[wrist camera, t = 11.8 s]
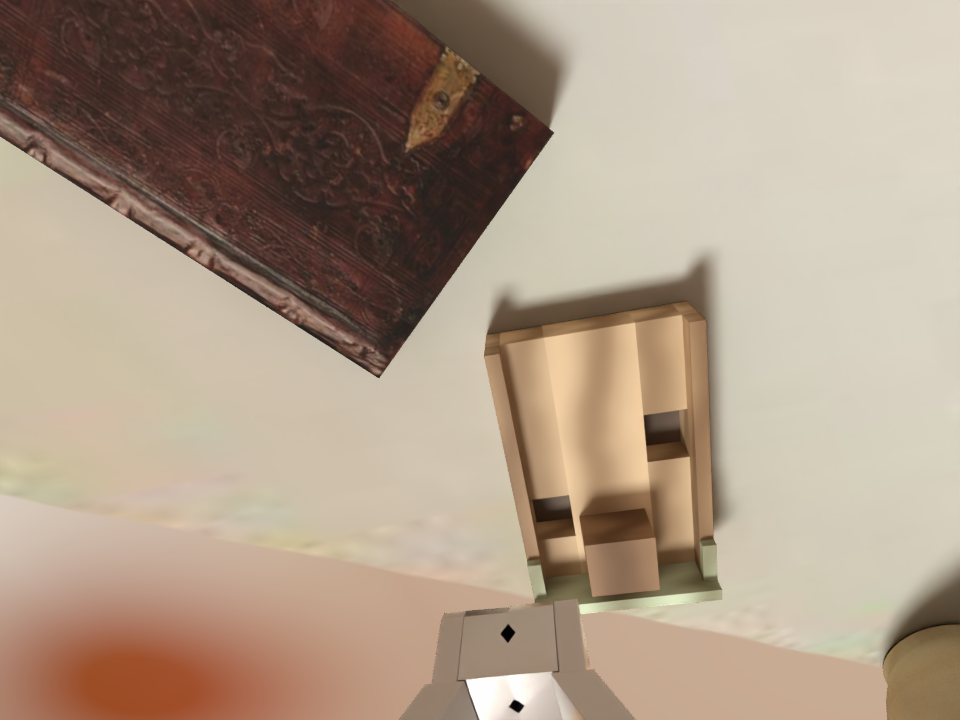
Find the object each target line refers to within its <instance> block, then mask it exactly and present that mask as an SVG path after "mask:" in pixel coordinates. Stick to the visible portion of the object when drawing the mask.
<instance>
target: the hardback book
mask: <svg viewBox="0 0 960 720" xmlns="http://www.w3.org/2000/svg"><path fill="white" fill-rule="evenodd" d="M553 134H554V132H553V131H551V130H550V129H549V128H548V127H547V126H545V125H544V124H543V123H542V122H540V121H539V120H538V119H537V118H535V117H534V116H533V115H532V114H530V113H529V112H528V111H527V110H525V109H524V108H523V107H522V106H520V105H519V104H518V103H517V102H516V101H514V100H513V99H512V98H511V97H509V96H508V95H507V94H506V93H504V92H503V91H502V90H501V89H499V88H498V87H497V86H496V85H494V84H493V83H492V82H491V81H489V80H488V79H487V78H486V77H485V76H483V75H482V74H481V73H480V72H478V71H477V70H476V69H475V68H473V67H472V66H471V65H470V64H468V63H467V62H466V61H465V60H463V59H462V58H461V57H460V56H458V55H457V54H456V53H455V52H454V51H452V50H451V49H450V48H449V47H447V46H446V45H445V44H444V43H442V42H441V41H440V40H439V39H437V38H436V37H435V36H434V35H432V34H431V33H430V32H429V31H428V30H426V29H425V28H424V27H423V26H421V25H420V24H419V23H418V22H416V21H415V20H414V19H413V18H411V17H410V16H409V15H408V14H406V13H405V12H404V11H403V10H401V9H400V8H399V7H398V6H397V5H395V4H394V3H393V2H392V1H390V0H0V137H2V138H3V139H5V140H6V141H8V142H10V143H11V144H13V145H14V146H16V147H17V148H19V149H21V150H22V151H24V152H25V153H27V154H28V155H30V156H32V157H33V158H35V159H36V160H38V161H39V162H41V163H43V164H44V165H46V166H47V167H49V168H50V169H52V170H53V171H55V172H57V173H58V174H60V175H61V176H63V177H64V178H66V179H68V180H69V181H71V182H72V183H74V184H75V185H77V186H79V187H80V188H82V189H83V190H85V191H86V192H88V193H90V194H91V195H93V196H94V197H96V198H97V199H99V200H100V201H102V202H104V203H105V204H107V205H108V206H110V207H111V208H113V209H115V210H116V211H118V212H119V213H121V214H122V215H124V216H126V217H127V218H129V219H130V220H132V221H133V222H135V223H136V224H138V225H140V226H141V227H143V228H144V229H146V230H147V231H149V232H151V233H152V234H154V235H155V236H157V237H158V238H160V239H162V240H163V241H165V242H166V243H168V244H169V245H171V246H173V247H174V248H176V249H177V250H179V251H180V252H182V253H183V254H185V255H187V256H188V257H190V258H191V259H193V260H194V261H196V262H198V263H199V264H201V265H202V266H204V267H205V268H207V269H209V270H210V271H212V272H213V273H215V274H216V275H218V276H220V277H221V278H223V279H224V280H226V281H227V282H229V283H230V284H232V285H234V286H235V287H237V288H238V289H240V290H241V291H243V292H245V293H246V294H248V295H249V296H251V297H252V298H254V299H256V300H257V301H259V302H260V303H262V304H263V305H265V306H266V307H268V308H270V309H271V310H273V311H274V312H276V313H277V314H279V315H281V316H282V317H284V318H285V319H287V320H288V321H290V322H292V323H293V324H295V325H296V326H298V327H299V328H301V329H303V330H304V331H306V332H307V333H309V334H310V335H312V336H313V337H315V338H317V339H318V340H320V341H321V342H323V343H324V344H326V345H328V346H329V347H331V348H332V349H334V350H335V351H337V352H339V353H340V354H342V355H343V356H345V357H346V358H348V359H350V360H351V361H353V362H354V363H356V364H357V365H359V366H360V367H362V368H364V369H365V370H367V371H368V372H370V373H371V374H373V375H375V376H376V377H378V378H380V376H381V375H382V373H383V372H384V371H385V369H386V368H387V366H388V365H389V364H390V362H391V361H392V359H393V358H394V357H395V355H396V354H397V352H398V351H399V350H400V348H401V347H402V345H403V344H404V343H405V341H406V340H407V338H408V337H409V336H410V334H411V333H412V331H413V330H414V329H415V327H416V326H417V324H418V323H419V322H420V320H421V319H422V317H423V316H424V315H425V313H426V312H427V310H428V309H429V308H430V306H431V305H432V303H433V302H434V301H435V299H436V298H437V296H438V295H439V294H440V292H441V291H442V289H443V288H444V287H445V285H446V284H447V282H448V281H449V280H450V278H451V277H452V275H453V274H454V273H455V271H456V270H457V268H458V267H459V266H460V264H461V263H462V261H463V260H464V259H465V257H466V256H467V254H468V253H469V252H470V250H471V249H472V247H473V246H474V245H475V243H476V242H477V240H478V239H479V238H480V236H481V235H482V233H483V232H484V230H485V229H486V228H487V226H488V225H489V223H490V222H491V221H492V219H493V218H494V216H495V215H496V214H497V212H498V211H499V209H500V208H501V207H502V205H503V204H504V202H505V201H506V200H507V198H508V197H509V195H510V194H511V193H512V191H513V190H514V188H515V187H516V186H517V184H518V183H519V181H520V180H521V179H522V177H523V176H524V174H525V173H526V172H527V170H528V169H529V167H530V166H531V165H532V163H533V162H534V160H535V159H536V158H537V156H538V155H539V153H540V152H541V151H542V149H543V148H544V146H545V145H546V144H547V142H548V141H549V139H550V138H551V137H552V135H553Z"/></svg>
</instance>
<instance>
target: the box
mask: <svg viewBox="0 0 960 720" xmlns="http://www.w3.org/2000/svg"><path fill="white" fill-rule="evenodd" d="M484 358H485V363H486V368H487V372H488V377H489V382H490V387H491V391H492V396H493V401H494V405H495V410H496V415H497V420H498V424H499V429H500V434H501V439H502V443H503V448H504V453H505V457H506V462H507V467H508V472H509V476H510V481H511V486H512V491H513V495H514V500H515V505H516V510H517V514H518V519H519V524H520V528H521V533H522V538H523V543H524V547H525V552H526V557H527V565H528V571H529V576H530V580H531V585H532V590H533V594H534V599H535V603H542V602H550V601H562V600H571V599H577V600H578V603H579V608H580V613H581V614H585V613H595V612H606V611H615V610H625V609H635V608H645V607H655V606H664V605H674V604H684V603H694V602H703V601H713V600H722V589H721V587H720V585H719V582H718V579H717V548H716V543H715V541H714V539H713V510H712V480H711V451H710V421H709V392H708V362H707V333H706V319H705V318H704V317H703V316H701V315H700V314H699V313H698V312H697V311H696V310H695V309H694V308H693V307H692V306H691V305H690V304H689V303H688V302H687V301H685V302H679V303H673V304H667V305H662V306H656V307H650V308H644V309H638V310H632V311H626V312H620V313H614V314H608V315H602V316H596V317H591V318H585V319H579V320H573V321H567V322H561V323H555V324H549V325H543V326H537V327H531V328H525V329H520V330H514V331H508V332H502V333H496V334H490V335H486V343H485V353H484ZM642 508H645V510H646V513H647V516H648V519H649V521H650V524H651V527H652V530H653V532H654V535H655V538H656V550H657V561H658V573H659V585H660V590H653V591H644V592H634V593H625V594H615V595H605V596H596V597H592V592H591V586H590V581H589V575H588V570H587V564H586V558H585V551H584V545H583V538H582V532H581V525H580V519H579V516H585V515H593V514H601V513H609V512H618V511H626V510H634V509H642Z"/></svg>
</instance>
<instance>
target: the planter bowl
mask: <svg viewBox="0 0 960 720" xmlns="http://www.w3.org/2000/svg"><path fill="white" fill-rule="evenodd" d="M883 674H884V678H885V680H886V682H887V684H888V688H887V699H886V704H887V705H886V706H887V720H960V625H942V626H936V627H931V628H928V629H924V630H921V631H918V632H916V633H914V634H912V635H910V636H908V637H906V638H905V639H903V640H902V641H900V642H899V643H898V644H897V645H896V646H895V647H893V649H892V650H891V651H890V652H889V653H888V655H887V657H886V658H885V661H884V664H883Z"/></svg>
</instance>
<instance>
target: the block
mask: <svg viewBox="0 0 960 720" xmlns="http://www.w3.org/2000/svg"><path fill="white" fill-rule="evenodd" d="M579 519H580V525H581V532H582V538H583V545H584V551H585V558H586V564H587V570H588V575H589V581H590V586H591V592H592V597H596V596H605V595H615V594H625V593H634V592H644V591H653V590H660V585H659V573H658V561H657V550H656V538H655V535H654V532H653V530H652V527H651V524H650V521H649V519H648V516H647V513H646V510H645V508H642V509H634V510H626V511H618V512H609V513H601V514H593V515H585V516H579Z"/></svg>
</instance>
